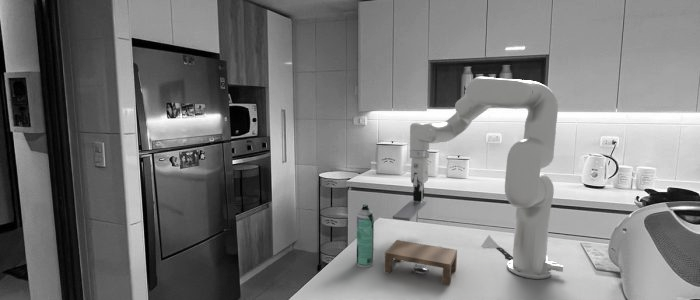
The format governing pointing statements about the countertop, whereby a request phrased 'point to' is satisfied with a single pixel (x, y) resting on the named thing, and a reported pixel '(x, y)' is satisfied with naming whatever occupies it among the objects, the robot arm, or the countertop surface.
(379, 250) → the countertop surface
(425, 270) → the disc
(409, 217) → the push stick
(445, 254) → the walnut bench
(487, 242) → the cleaver
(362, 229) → the spray can
